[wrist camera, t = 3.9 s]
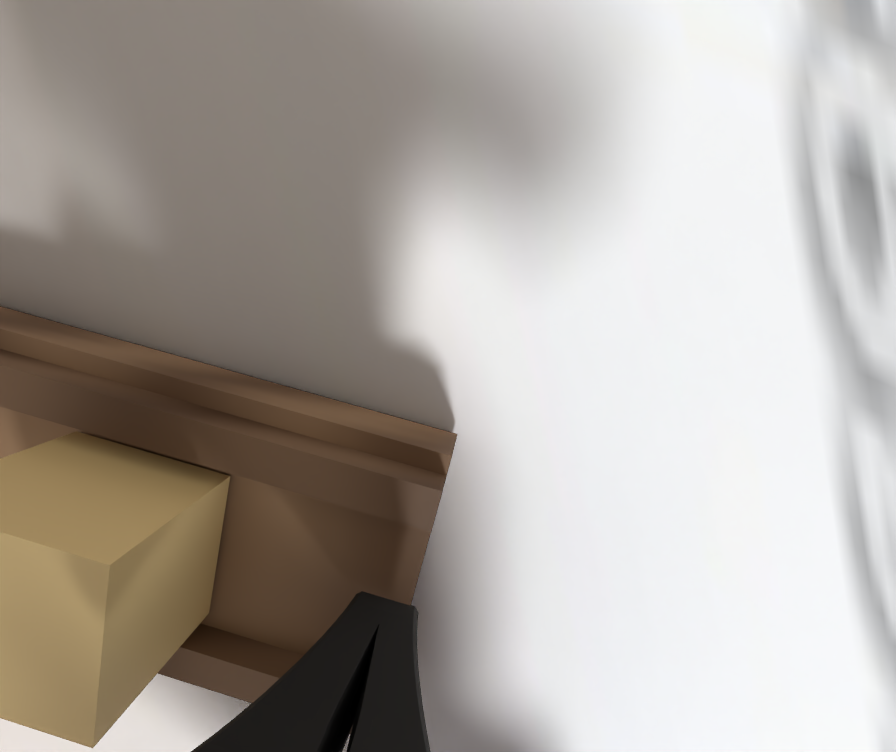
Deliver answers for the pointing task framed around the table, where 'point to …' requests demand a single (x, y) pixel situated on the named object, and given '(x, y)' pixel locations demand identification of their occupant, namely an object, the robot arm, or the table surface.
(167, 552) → the block
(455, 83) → the table surface
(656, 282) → the table surface
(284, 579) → the balance beam
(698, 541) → the table surface
